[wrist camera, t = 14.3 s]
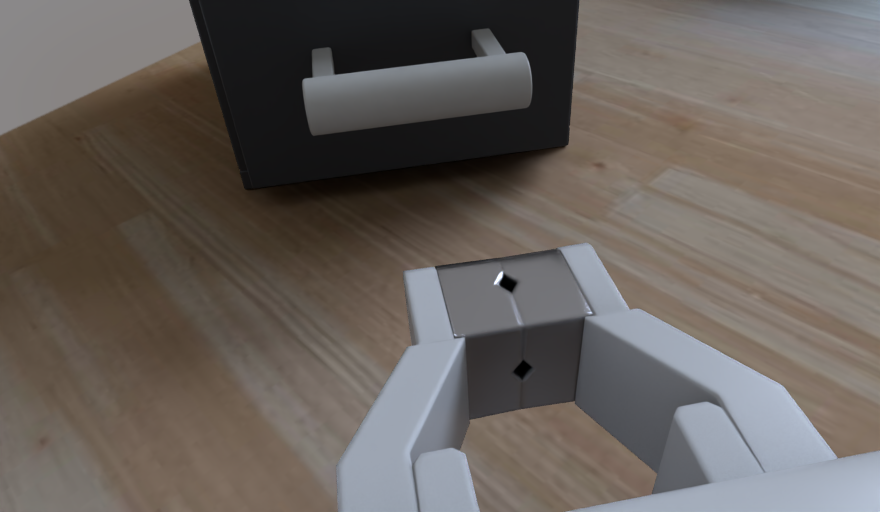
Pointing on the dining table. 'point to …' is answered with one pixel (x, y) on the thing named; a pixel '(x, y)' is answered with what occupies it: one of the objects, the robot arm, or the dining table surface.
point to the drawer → (390, 81)
